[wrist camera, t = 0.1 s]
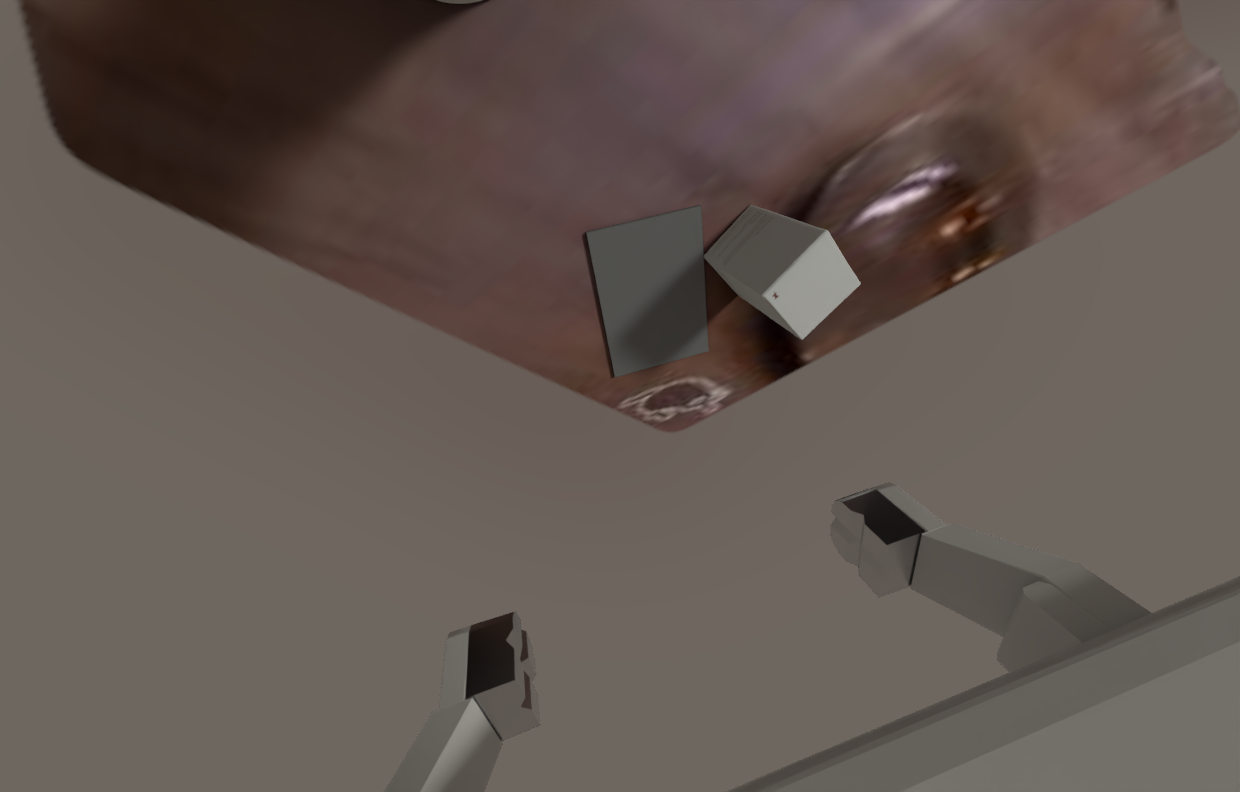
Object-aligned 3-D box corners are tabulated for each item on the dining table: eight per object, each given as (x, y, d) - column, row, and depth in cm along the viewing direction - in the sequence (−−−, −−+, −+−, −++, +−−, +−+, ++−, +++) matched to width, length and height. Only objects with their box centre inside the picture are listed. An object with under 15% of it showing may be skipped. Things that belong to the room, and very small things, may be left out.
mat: (585, 232, 44) (586, 233, 44) (699, 205, 46) (701, 205, 45) (614, 375, 54) (614, 377, 54) (707, 349, 55) (708, 351, 55)
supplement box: (737, 297, 53) (800, 343, 42) (700, 255, 49) (760, 295, 38) (786, 248, 51) (864, 285, 41) (751, 201, 47) (828, 228, 37)
